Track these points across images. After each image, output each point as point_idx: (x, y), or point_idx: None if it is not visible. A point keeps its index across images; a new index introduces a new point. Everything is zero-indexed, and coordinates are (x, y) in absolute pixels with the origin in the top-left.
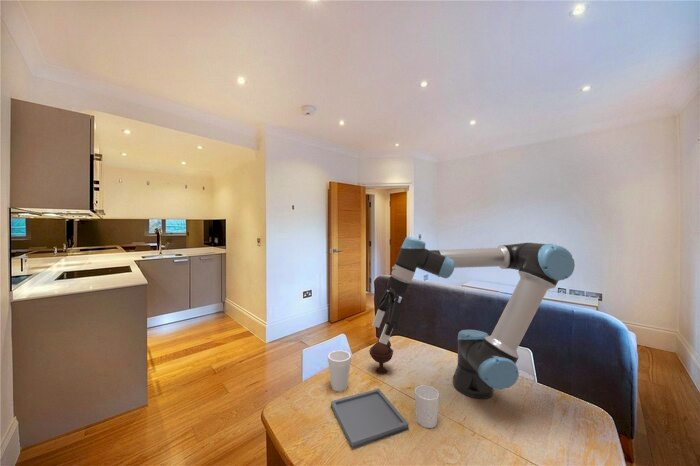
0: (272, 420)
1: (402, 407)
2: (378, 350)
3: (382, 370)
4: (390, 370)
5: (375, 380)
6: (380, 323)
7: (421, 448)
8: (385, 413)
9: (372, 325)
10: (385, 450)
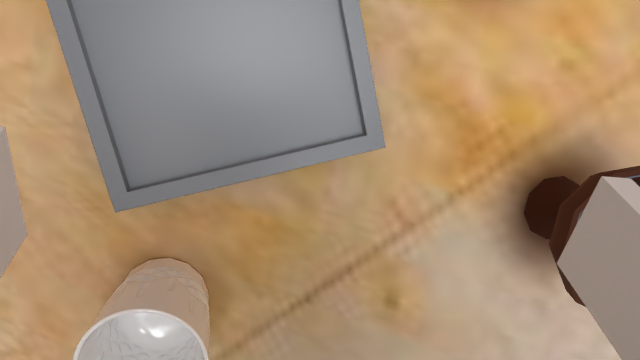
0: None
1: (262, 224)
2: None
3: (543, 212)
4: (545, 256)
5: (483, 155)
6: (594, 315)
7: None
8: (214, 130)
9: (601, 177)
10: (14, 68)
